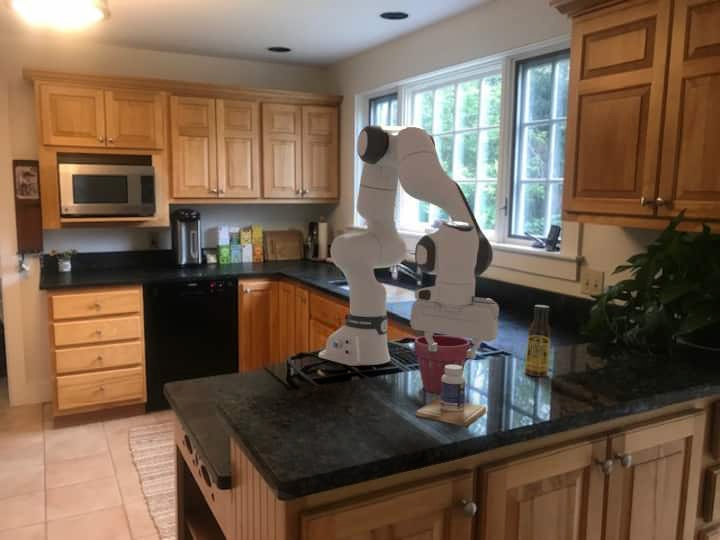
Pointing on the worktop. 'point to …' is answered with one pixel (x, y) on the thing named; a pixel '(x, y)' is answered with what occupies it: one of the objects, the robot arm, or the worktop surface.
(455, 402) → the pill bottle
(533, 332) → the sauce bottle
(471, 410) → the wooden coaster
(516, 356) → the worktop surface
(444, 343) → the plant pot
